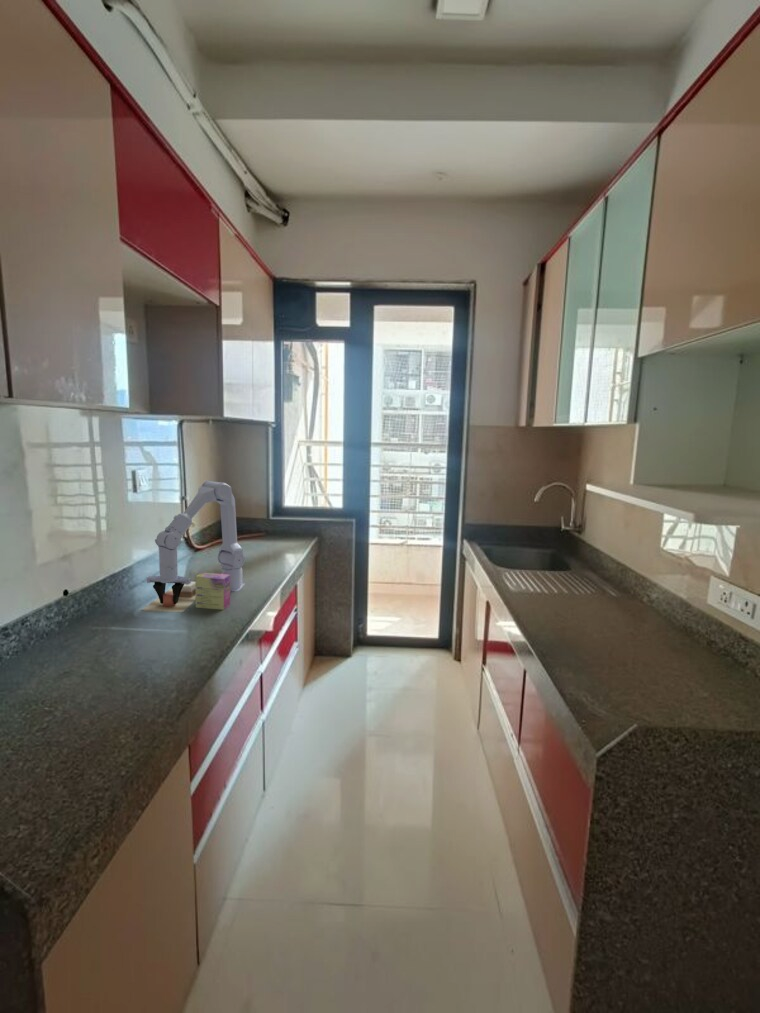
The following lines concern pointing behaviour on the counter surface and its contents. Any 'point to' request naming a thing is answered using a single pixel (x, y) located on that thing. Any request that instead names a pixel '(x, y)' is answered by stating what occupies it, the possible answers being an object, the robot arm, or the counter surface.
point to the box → (212, 591)
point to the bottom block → (187, 593)
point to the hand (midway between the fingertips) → (169, 602)
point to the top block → (189, 587)
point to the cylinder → (168, 599)
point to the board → (179, 607)
